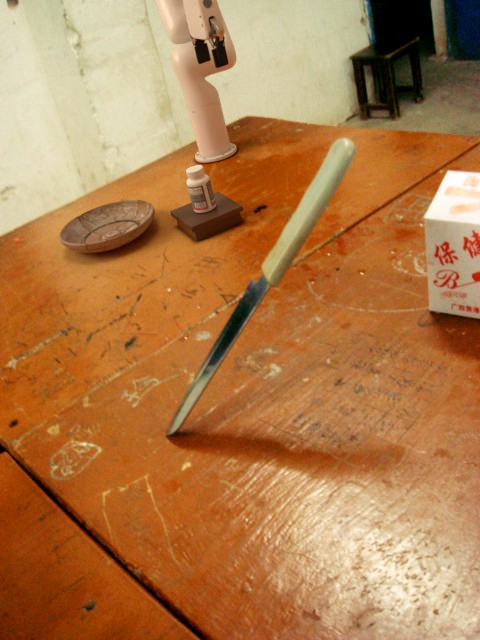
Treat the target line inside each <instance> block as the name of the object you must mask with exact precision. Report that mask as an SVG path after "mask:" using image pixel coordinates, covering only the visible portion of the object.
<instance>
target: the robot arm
mask: <svg viewBox="0 0 480 640" xmlns="http://www.w3.org/2000/svg"><path fill="white" fill-rule="evenodd" d="M153 2H154V3H155V6H156V9H157V11H158V12H157V13H158V14H159V17H160V20H161V23H162V25H163V28H164V31H165V33H166V35H167V38H168V39H169V41H170V42H171V43H173V44H174V45H177V46H176V47H175V48H174V49H173V50H172V52H171V54H170V62H171V65H172V69H173V71H174V73H175V76H176V78H177V80H178V82H179V86H180V88H181V91H182V94H183V97H184V102H185V105H186V109H187V112H188V116H189V120H190V123H191V127H192V132H193V135H194V140H195V142H196V147H197V150H198V151H197V152H196V153H195V154H194V159H195V161H196V162H197V163H200V164H208V163H209V164H210V163H215V162H220V161H223V160H225V159H228V158H230V157H232V156H233V155H234V154H235V153H236V152H237V150H238V148H237V145H236V144H235V143H232V142H231V140H230V137H229V132H228V128H227V123H226V120H225V116H224V111H223V107H222V103H221V98H220V95H219V91H218V89H217V87H215V86H214V85H213V83H211V82H210V81H208V80H206V78H207V77H209V76H211V75H215V74H218V73H222V72H225V71H228V70H231V69H232V68H233V67H235V66H236V63H237V52H236V49H235V45H234V43H233V40H232V38H231V35H230V31H229V29H228V27H227V24H226V22H225V19H224V17H223V13H222V11H221V9H220V7H219V3H218V0H153Z"/></svg>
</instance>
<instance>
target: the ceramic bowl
mask: <svg viewBox="0 0 480 640" xmlns="http://www.w3.org/2000/svg"><path fill="white" fill-rule="evenodd" d="M155 215H156V210H155V207H154V206H153V204H152V203H151V202H150V201H146V200H142V199H125V200H119V201H113V202H109V203H105V204H103V205H99V206H96V207H94V208H91V209H89V210H87V211H85V212H83V213H80V214H79V215H77V216H75V217H74V218H72V219H71V220H70V221H68V222H67V223H66V224H64V226H63V227H62V228H61V230H60V231H59V234H58V239H59V241H60V243H61V244H62V245H63V246H64V247H66V248H67V249H69V250H70V251H72V252H73V251H74V252H77V253H85V254H94V253H96V254H97V253H103V252H108V251H112V250H115V249H118V248H120V247H121V248H122V246H125V245H127V244H129V243H131V242H132V241H135V239H137V238H138V237H139V236H141V235H142V234H143V233H144V232H146V231H147V229H148V228H149V227H150V226H151V224H152V223H153V221H154V219H155Z"/></svg>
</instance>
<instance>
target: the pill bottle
mask: <svg viewBox="0 0 480 640" xmlns="http://www.w3.org/2000/svg"><path fill="white" fill-rule="evenodd" d="M185 173H186V177H187V180H186V182H185V184H186V188H187V191H188V195H189V199H190V203H192V205H193V208H194V211H195V212H197V213H205V212H209V211H211V210H213V209H214V208H215V207H216V201H215V197H214V193H215V192H214V190H213V186H212V183H211V178H210V176H209V175H208V174H206V173H205V169H204V166H203V165H202V164H195V165H192V166H190V167H187V168H186V169H185Z"/></svg>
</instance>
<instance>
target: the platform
mask: <svg viewBox="0 0 480 640" xmlns="http://www.w3.org/2000/svg"><path fill="white" fill-rule="evenodd" d="M213 193H214V197H215V201H216V207H215V208H214V209H213V210H211V211H209V212H205V213H197V212H195V211H194V208H193V205H192V202H189V203H186V204H185V205H182V206H179V207H177V208H175V209H173V210H170V211H169V214H170V216H171V217H172V218H173V219H174V220H175V221H176V224H177V227H178V228H180V229H181V230H182V231H183V232H184V233H186V234H187V235H189V237H191V238H192V239H194V240H195V241H196V242H199V241H201V240H205V239H207V238H208V237H211V236H214V235H215V234H219V233H220V232H223V231H224V230H226V229H229V228H232V227H234V226H236V225H238V224H241V223H243V220H242V215H241V212H244V207H243V205H241V204H240V203H238V202H236V201H235V200H234V199H231V198H230V197H228V196H227V195H225V194H223V193H221V192H220V191H215V192H213Z"/></svg>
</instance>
